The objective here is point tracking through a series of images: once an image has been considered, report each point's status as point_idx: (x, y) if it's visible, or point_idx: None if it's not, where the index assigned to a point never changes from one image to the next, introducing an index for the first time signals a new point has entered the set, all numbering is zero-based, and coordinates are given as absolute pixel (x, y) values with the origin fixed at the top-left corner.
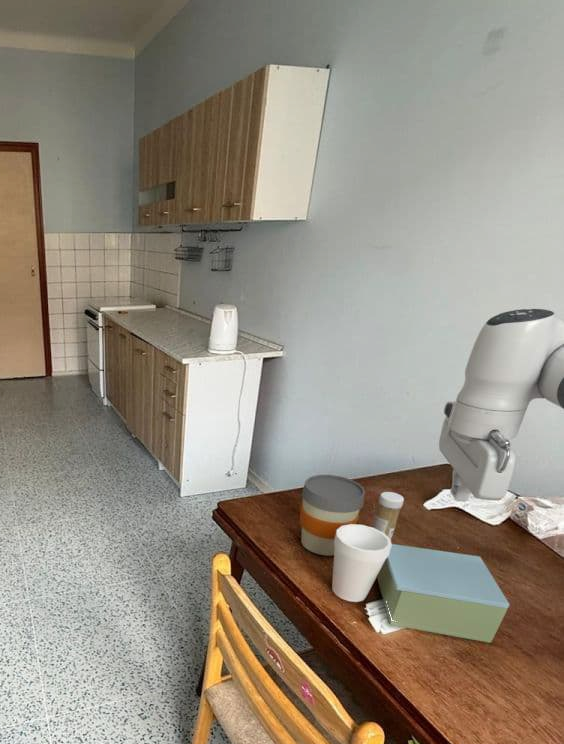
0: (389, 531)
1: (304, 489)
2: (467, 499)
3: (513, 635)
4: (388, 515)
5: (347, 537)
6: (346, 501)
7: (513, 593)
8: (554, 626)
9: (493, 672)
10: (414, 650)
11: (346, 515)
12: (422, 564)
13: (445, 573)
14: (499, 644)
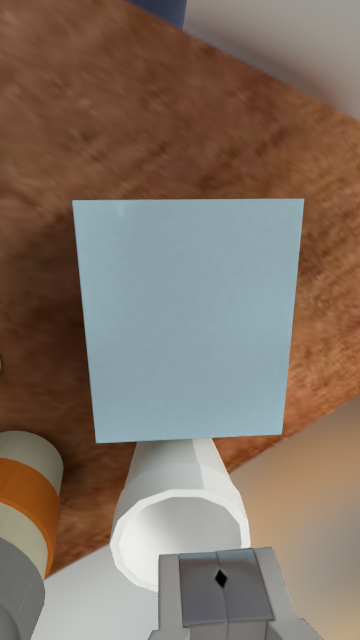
0: None
1: None
2: (276, 559)
3: (226, 143)
4: None
5: (135, 535)
6: (18, 609)
7: (55, 74)
8: (167, 22)
9: (339, 223)
10: (307, 342)
11: (29, 547)
12: (174, 369)
13: (201, 323)
14: (261, 185)
